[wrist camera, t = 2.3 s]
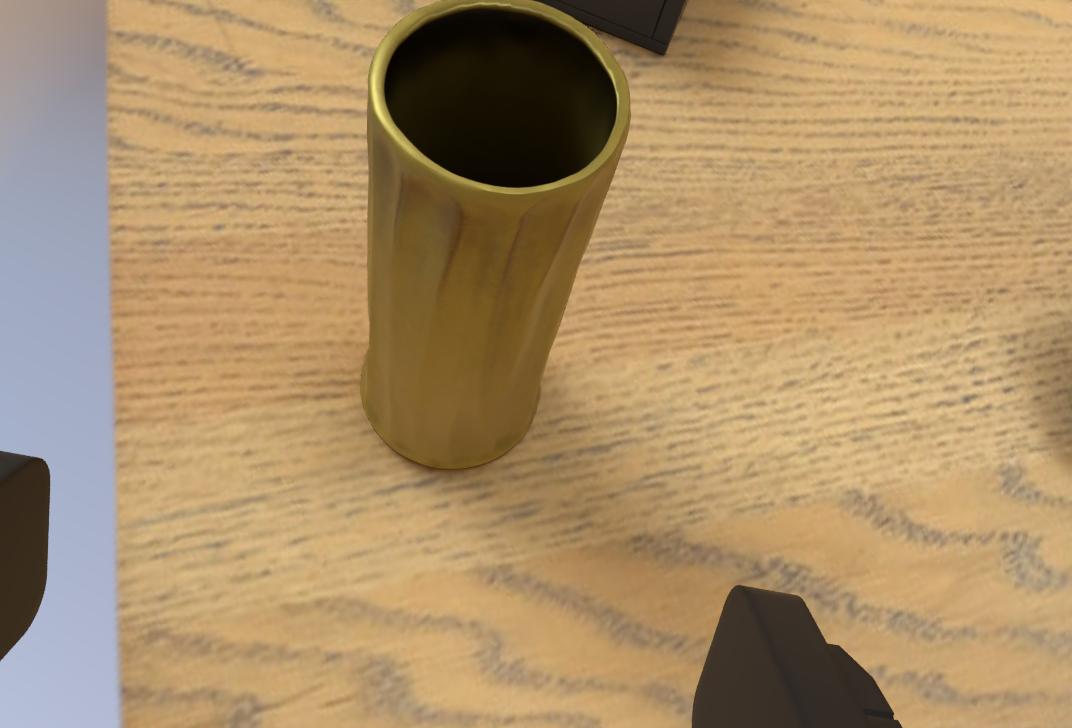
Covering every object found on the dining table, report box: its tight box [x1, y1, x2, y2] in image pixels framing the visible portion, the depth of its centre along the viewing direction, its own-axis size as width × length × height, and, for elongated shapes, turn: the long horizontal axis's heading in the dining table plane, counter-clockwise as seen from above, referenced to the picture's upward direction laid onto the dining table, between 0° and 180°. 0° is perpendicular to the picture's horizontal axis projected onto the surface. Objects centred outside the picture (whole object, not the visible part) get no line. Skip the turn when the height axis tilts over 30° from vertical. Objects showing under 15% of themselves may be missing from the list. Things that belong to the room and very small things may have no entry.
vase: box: [360, 0, 631, 469], centre depth 23 cm, size 6×6×14 cm
